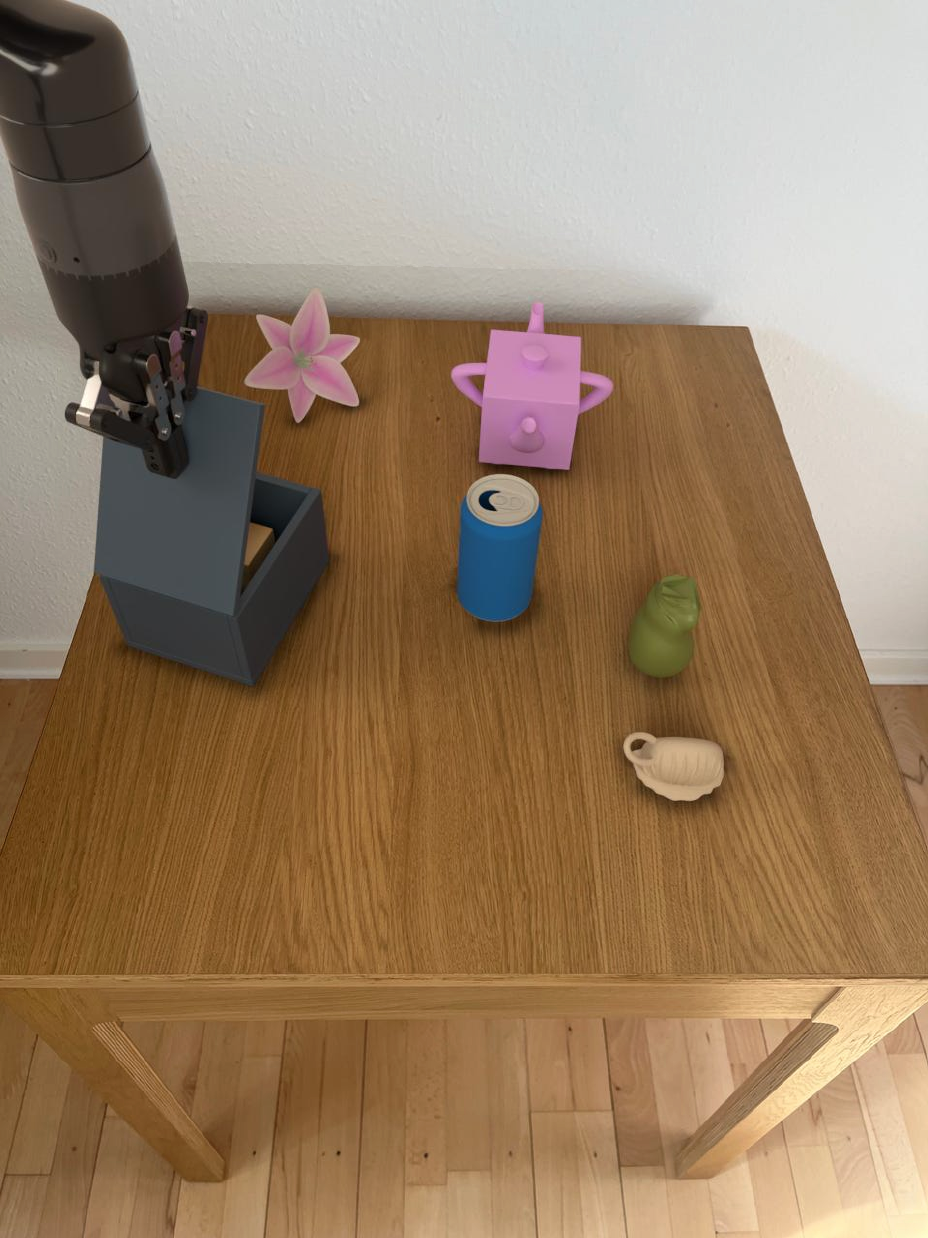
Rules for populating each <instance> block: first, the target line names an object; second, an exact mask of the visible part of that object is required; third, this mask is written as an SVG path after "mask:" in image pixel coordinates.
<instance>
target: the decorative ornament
mask: <svg viewBox="0 0 928 1238" xmlns="http://www.w3.org/2000/svg"><path fill="white" fill-rule="evenodd" d="M635 740H643V741H646V742H645V743H644V744H642V747H641V748H639V749H634V750H632V749H631V745H632V743H633V742H634V741H635ZM622 747H623V752H624V755H625V756H626V758H627V759H628V761H630V762H631V763H632V764H633V765H632V766H633V768H634V770H635V773H636V777H637V778H638V779H639V780H640V781H641V782H642V783H643V785H644V786H645V787H646V788H649V789H651V790H652V791H653V792H654V793H655V794H657V795H659V796H663V797H665V798H666V799H668V800H670V801H673V802H674V801H675V802H677V801H687V802H692V801H696V800H699V798H701V797H702V796H704V795H710V794H711V793H712V792H713V790H714V789H715V788H718V787H720V786H721V784H722V781H723V779H724V776H725V769H724V767H725V763H724V762H725V760H724V752H723V749H722V747H721V746H720V745H719V744H718V743H716V742H715V741H712V740H709V739H708V740H707V739H703V738H695V737H683V736H682V737H681V736H665V737H655V736H654V735H653V734H651V733H648V732H643V731H637V732H632V733H630V734H628V735H627V736H626V738H625V740H624V741H623V746H622Z"/></svg>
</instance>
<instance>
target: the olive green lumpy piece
mask: <svg viewBox="0 0 928 1238" xmlns="http://www.w3.org/2000/svg"><path fill="white" fill-rule="evenodd" d="M701 611H702V606H701V600H700V596H699V591H698V587H697V582H696V579H695V577H694V576H691V577H688V576H687V577H686V576H684V575H680V574H667V575H666V576H664V577H662V579H661V580H660V581H657V582H656V583H654V585H653V586H652V587H651V588H650V590H649V591H648V592H647V595H646V597H645V600H644V603H643V604H642V605H641V606H640V607H639V608H638V609H637V611H636V613H635V615H634V616H633V619H632V622H631V625H630V627H629V631H628V635H627V636H628V637H627V653H628V656H629V659H630V660H631V662H632V664H633V665H634V667H635V668H636V669H637V670H638V671H640V673H642V674H644V675H646V676H649V677H652V678H656V679H657V678H658V679H663V678H670V677H673V676H676V675H678V674H680V673H682V671H684V670H685V669H686V668H687V667H688V666H689V664H690V663H691V661H692V658H693V656H694V651H695V640H694V636H693V633H692V631H693V630H694V629H696V627H697V625H698V622H699V620H700V615H701Z"/></svg>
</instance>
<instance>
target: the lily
mask: <svg viewBox="0 0 928 1238" xmlns="http://www.w3.org/2000/svg"><path fill="white" fill-rule="evenodd" d="M255 317H256V321H257V324H258V326H259V328H260V330H261V332H262V334H263V336H264V338H265V339H266V342H267V343H268V345H269V346H270V348H271V349H272V350H270V351H269V352H268V353H266V355H265V356H264V357H263V358H261V360H260V361H259V362H258V363H257V364H256V365H254V367H253V368H252V369H251V370H250V372H248V374H247V375H246V377H245V379H244V382H243V384H244V385H246V386H247V387H251V388H256V389H265V390H282V391H283V390H287V394H288V399H289V404H290V408H291V411H292V415H293V418H294V421H295V422H296V423H297V424H299V423H300V422H302V420H303V419H304V418H305V416H306V415H307V414H308V412H309V410H310V409H311V407H312V405H313V403H314V401H315V399H316V397H317V396H319V397H321V398H323V399H326V400H329V401H333V402H335V403H338V404H342V405H344V406H348V407H358V406H359V405H360V400H359V396H358V392H357V390H356V387H355V386H354V384H353V382H352V379H351V378H350V375H349V373H348V372H347V370H346V369H345V367H344V366H343V364H342V362H343V361H344V360H346V359H347V358H348V357H349V356H350V355H351V354H352V353H353V351H354V350H356V348H357V347H358V345H359V344H360V342H361V338H360V337H359V336H355V335H349V334H344V333H343V334H342V333H341V334H340V333H331V326H330V319H329V314H328V310H327V306H326V303H325V298H324V296H323V294H322V292H321V290H320V289H319V288H318V287H315V288H313V289H312V290H311V291H310V292H309V294H308V295H307V297H306V298H305V300H304V302H303V304H302V305H301V307H300V309H299V311H298V312H297V314H296V316H294V317H295V318H294V319H293V321H292V323H291V325H290V324H289V323H287V322H285V321H283V320H281V319H278V318H275V317H272V316H269V315H266V314H261V313H259V314H256V315H255Z"/></svg>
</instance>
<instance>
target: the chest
mask: <svg viewBox="0 0 928 1238" xmlns="http://www.w3.org/2000/svg"><path fill="white" fill-rule="evenodd" d="M250 522H251V523H254V524H258V525H261V526H265V527H268V528H272V529H273V532H274V538H275V545H274V546H273V548H272V549H271V551H270V553H269V554H268V556H267V557H266V559H265V560H264V562H263V563H262V565H261V566H260V568H259V569H258V571H257V572H256V574H255V575H254V577H253V578H252V580H251V581H250V583H249V584H248V586H247V587H246V589H245V590H244V592H243V593H242V595H241V596H240V601H239V609H238V614H236V615H234V616H230V615H227V614H223V613H220V612H217V611H214V610H211V609H207V608H204V607H201V606H198V605H195V604H191V603H188V602H185V601H182V600H179V599H175V598H172V597H169V596H166V595H163V594H160V593H156V592H153V591H150V590H147V589H144V588H140V587H137V586H134V585H131V584H128V583H124V582H121V581H118V580H115V579H112V578H108V577H105V576H102V575H99V574H98V578H99V580H100V582H101V585H102V587H103V590H104V592H105V595H106V597H107V599H108V602H109V605H110V607H111V609H112V612H113V614H114V616H115V619H116V622H117V624H118V626H119V629H120V632H121V633H122V634H121V635H122V636H123V639H124V641H125V644H126V646H127V647H130V648H132V649H136V650H139V651H142V652H145V653H148V654H151V655H154V656H157V657H160V658H163V659H167V660H169V661H172V662H175V663H179V664H182V665H185V666H188V667H190V668H194V669H198V670H201V671H203V672H206V673H208V674H209V673H210V674H212V675H215V676H219V677H221V678H225V679H228V680H230V681H233V682H237V683H241V684H244V685H246V686H249V687H252V688H254V686H255V685H256V684H257V682H258V681H259V678H260V677H261V675H263V674H262V673H263V672H264V670H265V669H266V667H267V666H268V664H269V663H270V660H271V659H272V657H273V655H274V654H275V652H276V651H277V649H278V647H279V646H280V644H281V642H282V641H283V639H284V637H285V635H286V634H287V632H288V631H289V629H290V627H291V625H292V624H293V623H294V621H295V619H296V617H297V616H298V615H299V613H300V611H301V609H302V607H303V606H304V604H305V602H306V601H307V599H308V597H309V596H310V594H311V593H312V591H313V589H314V587H316V585H317V583H318V581H319V579H320V578H321V576H322V574H323V573H324V571H325V570H326V568H327V566H328V565H329V563H330V556H329V555H330V554H329V545H328V537H327V529H326V520H325V511H324V503H323V493H322V490H321V489H320V488H316V487H312V486H309V485H306V484H305V485H304V484H302V483H298V482H295V481H291V480H287V479H283V478H280V477H277V476H273V475H270V474H266V473H262V472H259V471H256V479H255V486H254V494H253V502H252V509H251V517H250Z"/></svg>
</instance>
